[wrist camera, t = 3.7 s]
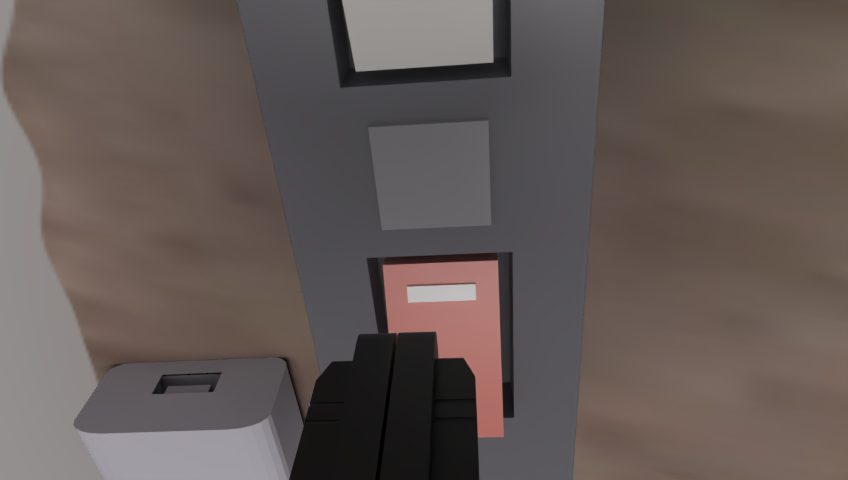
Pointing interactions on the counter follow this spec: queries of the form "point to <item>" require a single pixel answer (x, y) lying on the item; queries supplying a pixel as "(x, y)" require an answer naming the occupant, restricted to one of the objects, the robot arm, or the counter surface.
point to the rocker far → (454, 317)
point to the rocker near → (419, 33)
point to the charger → (193, 421)
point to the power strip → (444, 190)
